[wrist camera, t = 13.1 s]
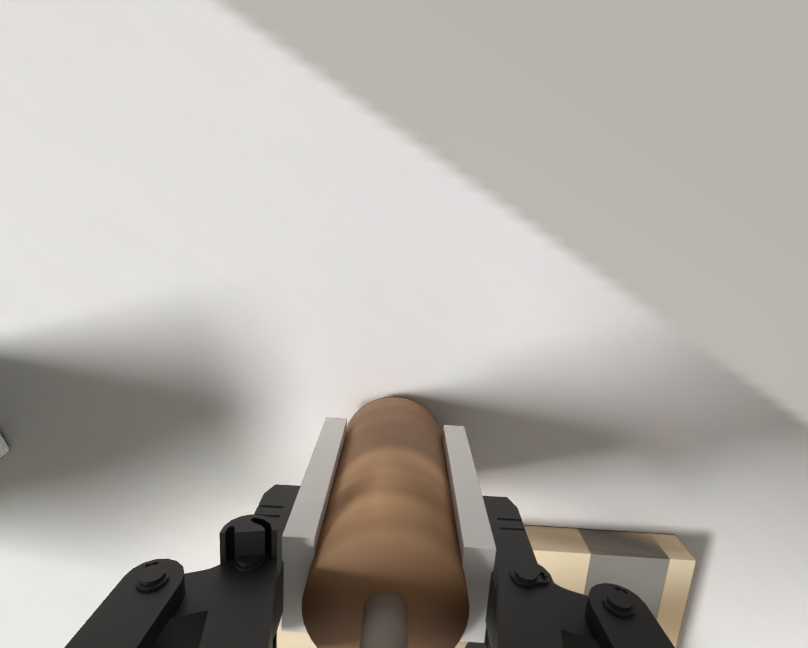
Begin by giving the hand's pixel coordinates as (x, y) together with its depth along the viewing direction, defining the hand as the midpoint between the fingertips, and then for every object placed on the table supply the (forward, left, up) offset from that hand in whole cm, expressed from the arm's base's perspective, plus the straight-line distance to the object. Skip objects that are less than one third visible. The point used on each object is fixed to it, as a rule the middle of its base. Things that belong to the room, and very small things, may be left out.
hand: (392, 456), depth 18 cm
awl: (0, 0, -1) cm, 1 cm away
